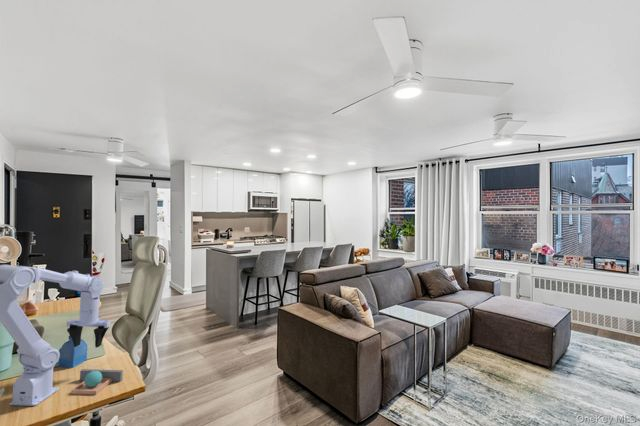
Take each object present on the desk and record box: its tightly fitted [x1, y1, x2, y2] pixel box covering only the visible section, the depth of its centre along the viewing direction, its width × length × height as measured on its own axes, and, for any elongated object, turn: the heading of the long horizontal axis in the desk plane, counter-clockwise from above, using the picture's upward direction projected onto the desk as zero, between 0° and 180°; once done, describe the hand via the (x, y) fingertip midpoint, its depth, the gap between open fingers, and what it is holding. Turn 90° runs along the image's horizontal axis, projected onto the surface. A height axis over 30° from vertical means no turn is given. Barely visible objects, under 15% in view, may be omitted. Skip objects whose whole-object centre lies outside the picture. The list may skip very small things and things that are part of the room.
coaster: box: [70, 378, 113, 396], centre depth 108 cm, size 8×8×1 cm
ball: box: [84, 371, 102, 387], centre depth 108 cm, size 5×5×5 cm
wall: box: [79, 368, 124, 383], centre depth 112 cm, size 1×14×4 cm, turn 92°
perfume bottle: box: [57, 333, 88, 369], centre depth 124 cm, size 6×6×12 cm
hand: (87, 346), depth 117 cm, fingers open, 7 cm apart
